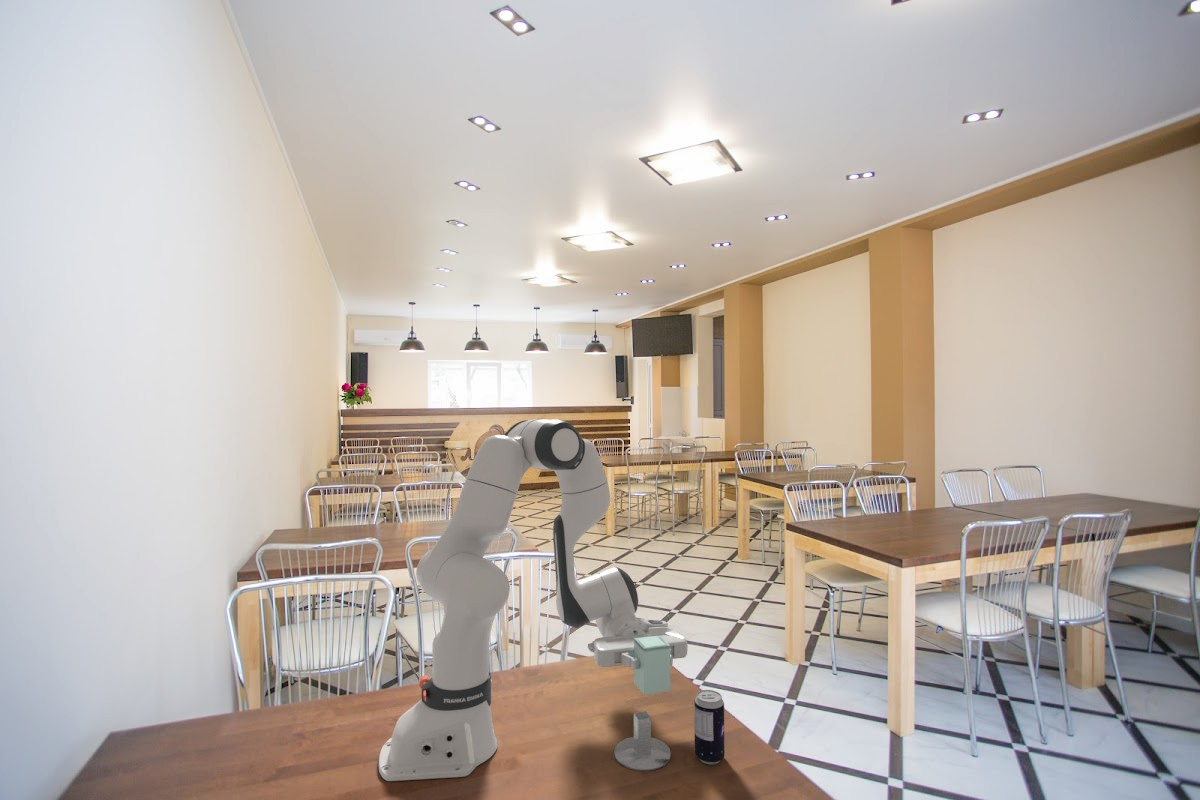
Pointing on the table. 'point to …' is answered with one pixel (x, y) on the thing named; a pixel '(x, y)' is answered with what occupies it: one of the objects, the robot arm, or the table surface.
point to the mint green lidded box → (652, 664)
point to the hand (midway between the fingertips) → (653, 663)
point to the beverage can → (709, 726)
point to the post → (642, 747)
